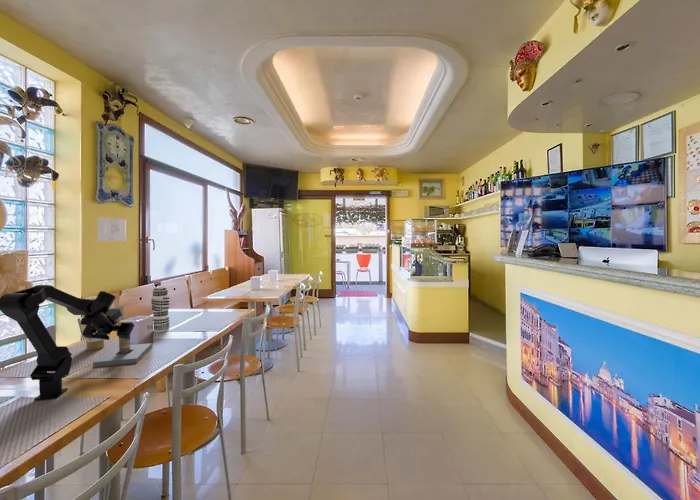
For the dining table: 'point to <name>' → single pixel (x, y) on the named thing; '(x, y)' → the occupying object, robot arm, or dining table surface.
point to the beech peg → (124, 343)
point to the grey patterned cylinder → (94, 342)
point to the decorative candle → (160, 309)
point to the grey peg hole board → (122, 355)
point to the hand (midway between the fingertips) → (119, 338)
